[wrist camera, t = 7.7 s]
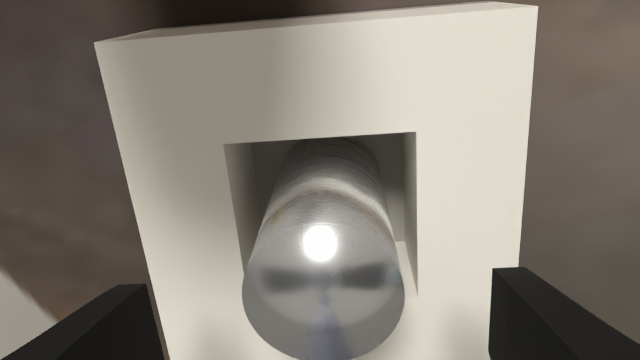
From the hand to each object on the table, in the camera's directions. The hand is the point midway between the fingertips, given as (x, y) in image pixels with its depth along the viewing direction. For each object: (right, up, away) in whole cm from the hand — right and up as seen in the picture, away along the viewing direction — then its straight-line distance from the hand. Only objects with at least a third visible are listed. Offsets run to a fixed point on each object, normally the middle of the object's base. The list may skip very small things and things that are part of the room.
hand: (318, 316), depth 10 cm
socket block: (0, +3, +8) cm, 9 cm away
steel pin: (0, +3, +7) cm, 8 cm away
